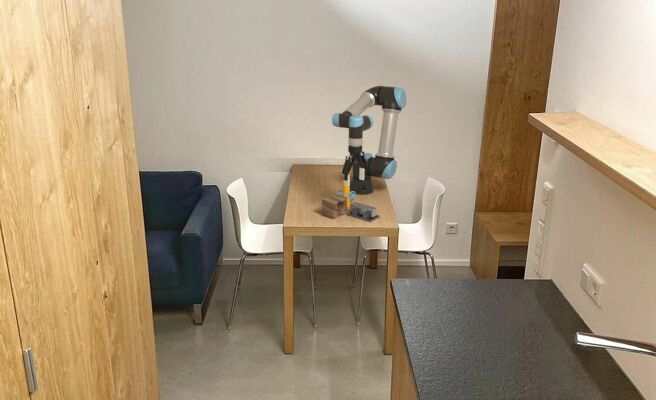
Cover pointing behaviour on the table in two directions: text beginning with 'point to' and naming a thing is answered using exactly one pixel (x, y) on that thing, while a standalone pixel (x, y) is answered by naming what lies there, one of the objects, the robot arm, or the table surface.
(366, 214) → the dark grey pegged plate
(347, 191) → the orange post with rings
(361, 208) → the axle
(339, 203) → the brown wooden stepped block
